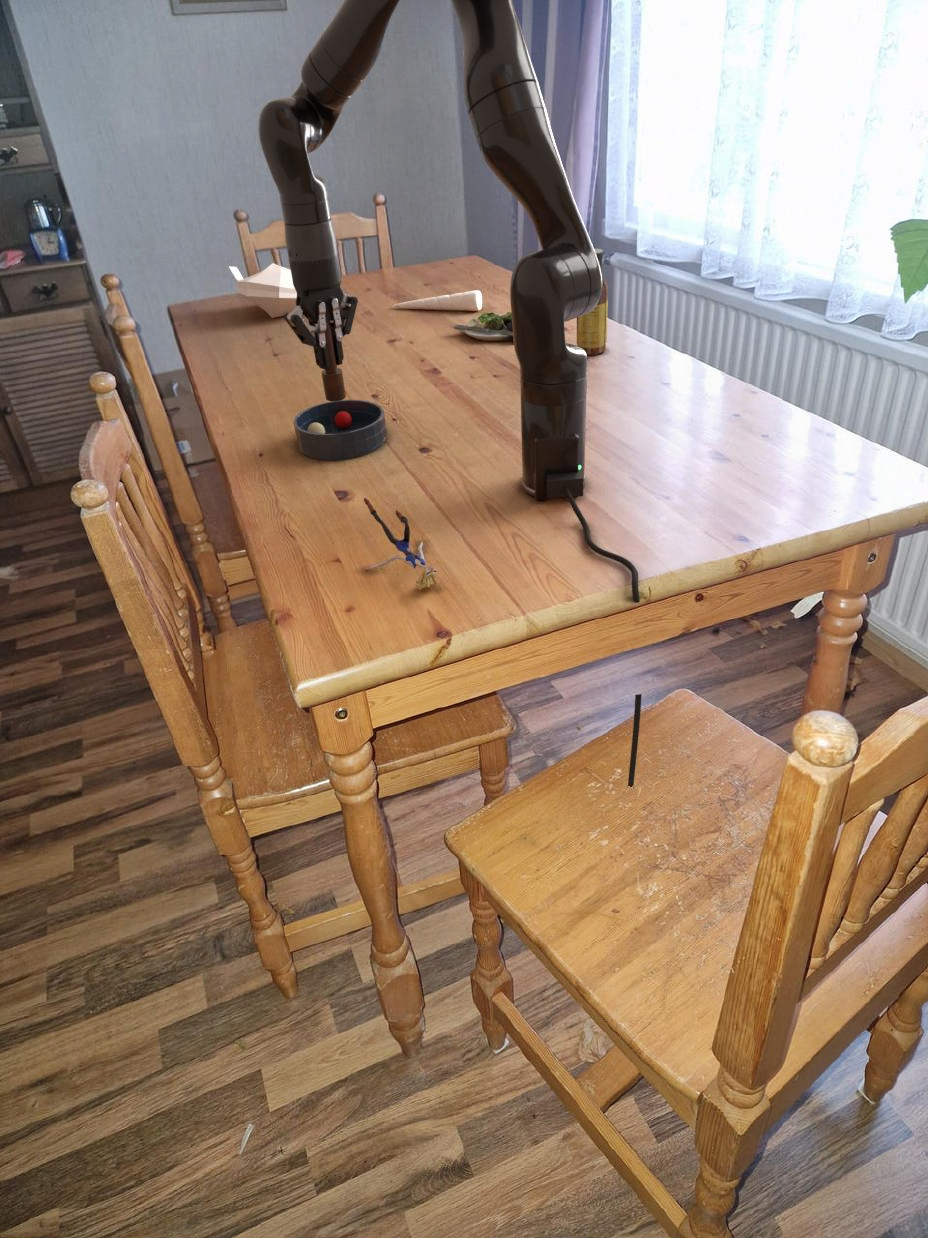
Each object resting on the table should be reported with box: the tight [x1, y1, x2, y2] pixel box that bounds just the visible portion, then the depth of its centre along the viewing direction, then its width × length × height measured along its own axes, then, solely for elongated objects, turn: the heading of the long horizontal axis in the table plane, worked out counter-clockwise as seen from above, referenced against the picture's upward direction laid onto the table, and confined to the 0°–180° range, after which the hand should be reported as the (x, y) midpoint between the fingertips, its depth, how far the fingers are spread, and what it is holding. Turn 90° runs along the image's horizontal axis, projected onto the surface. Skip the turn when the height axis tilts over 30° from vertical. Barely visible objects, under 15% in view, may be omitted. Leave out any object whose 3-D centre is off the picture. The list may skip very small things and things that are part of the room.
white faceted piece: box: [228, 262, 297, 319], centre depth 207 cm, size 25×24×12 cm
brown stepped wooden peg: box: [321, 321, 347, 402], centre depth 132 cm, size 3×3×14 cm
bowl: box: [292, 399, 388, 461], centre depth 139 cm, size 15×15×4 cm
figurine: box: [363, 497, 439, 591], centre depth 104 cm, size 10×9×20 cm
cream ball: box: [307, 423, 325, 434], centre depth 139 cm, size 3×3×3 cm
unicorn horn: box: [392, 289, 483, 312], centre depth 203 cm, size 5×24×5 cm, turn 68°
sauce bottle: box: [576, 248, 609, 356], centre depth 164 cm, size 7×6×20 cm
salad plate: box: [452, 311, 514, 342], centre depth 184 cm, size 19×18×5 cm
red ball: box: [335, 411, 352, 429], centre depth 143 cm, size 3×3×3 cm
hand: (331, 365), depth 133 cm, fingers closed on brown stepped wooden peg, 2 cm apart
